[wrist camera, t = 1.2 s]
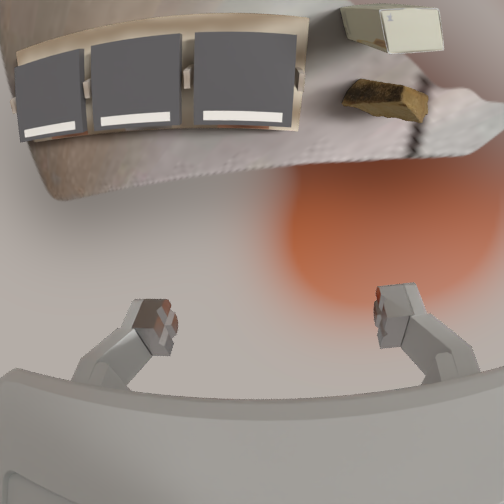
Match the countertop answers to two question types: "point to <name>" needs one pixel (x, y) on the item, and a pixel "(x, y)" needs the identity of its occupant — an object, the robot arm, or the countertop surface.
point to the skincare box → (394, 27)
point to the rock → (387, 100)
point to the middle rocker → (137, 82)
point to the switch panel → (187, 28)
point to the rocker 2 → (244, 78)
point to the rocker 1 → (51, 96)
